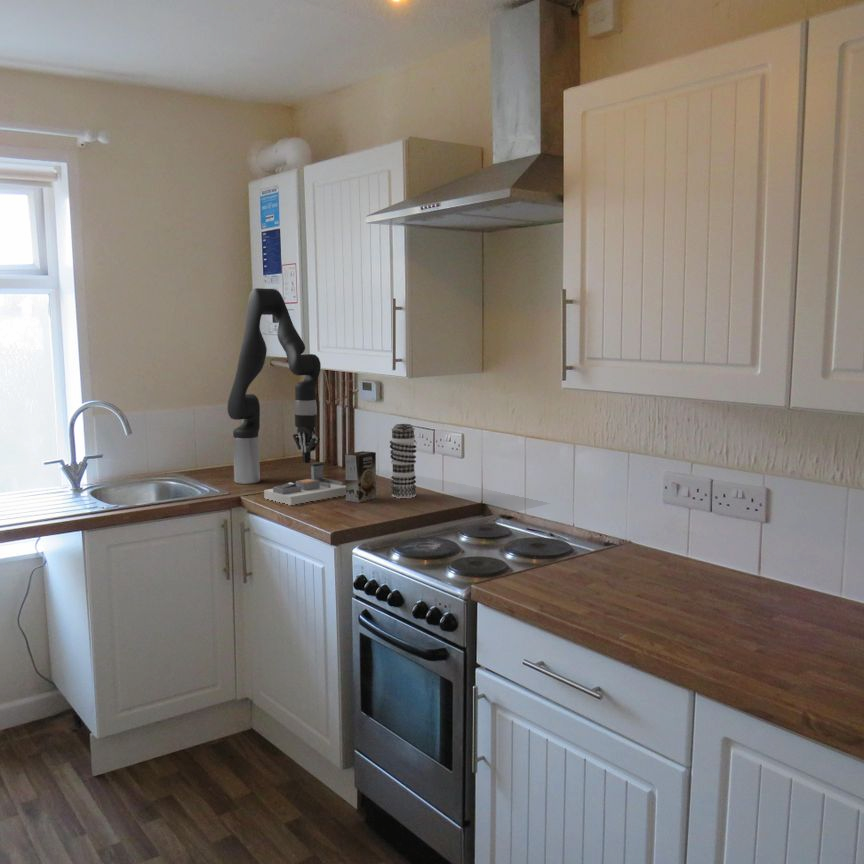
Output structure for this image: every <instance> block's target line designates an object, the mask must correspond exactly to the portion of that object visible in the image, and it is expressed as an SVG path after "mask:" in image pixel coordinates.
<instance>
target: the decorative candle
mask: <svg viewBox="0 0 864 864" xmlns="http://www.w3.org/2000/svg"><path fill="white" fill-rule="evenodd" d="M415 442H416V439H415V428H414V427H413V425H412V424H409V423H398V424H395V425H394V426H393V427H392V428H391V440H389V444H390V445H389V448H391V450H390V452H389V453H390V459H391V462H390V463H391V464H392V471H391V472H392V473H391V474H392V475H391V477H390V479H392V480H391V484H392V485H391V486H390V487H391V494H392V495H391V497H392V496H393V497H396V498H395V499H400V498H407V499H412V497H414V498H415V496H417V495H416V492H417V490H416V488H417V486H416V485H415V484H416V482H417V481H416V478H417V477H416V471H415V464H416V462H417V461H416V458H417V456H416V455H415V453H417V450H416V448H417V445H416V444H414V443H415ZM393 497H392V498H393Z"/></svg>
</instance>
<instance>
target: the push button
mask: <svg viewBox="0 0 864 864" xmlns="http://www.w3.org/2000/svg"><path fill="white" fill-rule="evenodd" d="M306 479H307V480H305V479H300V480H301V481H299V480H298V481H299V482H303V483H309V482H315V480H310V479H311V478H306Z"/></svg>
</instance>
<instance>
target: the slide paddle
mask: <svg viewBox="0 0 864 864" xmlns="http://www.w3.org/2000/svg"><path fill="white" fill-rule="evenodd" d="M324 463H325V462H320V461H319V462H312V463H309V467H310V471H311V472H310V479H313V480H317V481H319V482H323V478H324Z"/></svg>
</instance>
